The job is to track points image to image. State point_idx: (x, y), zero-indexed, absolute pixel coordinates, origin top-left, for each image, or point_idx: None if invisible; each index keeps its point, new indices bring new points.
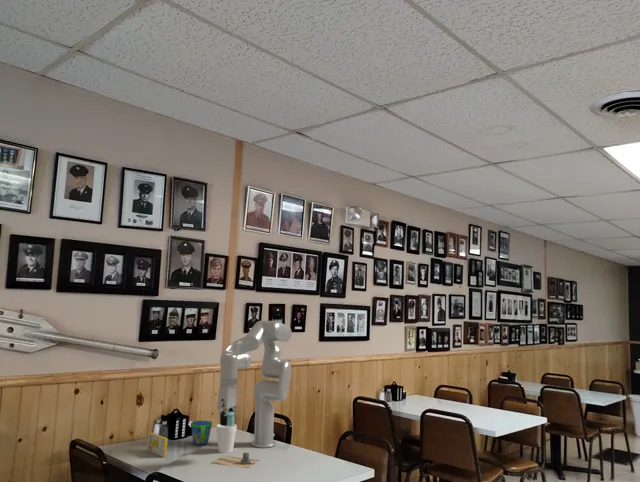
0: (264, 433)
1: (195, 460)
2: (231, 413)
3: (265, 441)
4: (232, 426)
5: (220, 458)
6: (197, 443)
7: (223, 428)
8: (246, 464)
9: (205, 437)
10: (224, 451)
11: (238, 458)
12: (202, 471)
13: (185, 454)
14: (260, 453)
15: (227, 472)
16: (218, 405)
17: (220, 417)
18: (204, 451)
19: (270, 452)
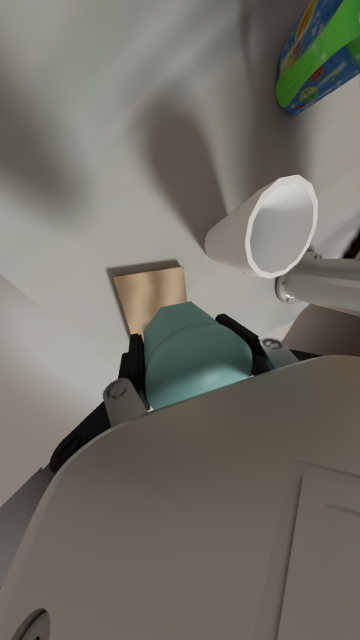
0: (309, 296)
1: (134, 194)
2: None
3: (292, 294)
4: (296, 243)
5: (162, 274)
6: (280, 71)
7: (243, 246)
8: None
9: (288, 103)
10: (209, 251)
11: None
12: (71, 282)
13: (168, 100)
14: (244, 308)
15: (110, 332)
16: (15, 581)
17: (128, 363)
18: (221, 162)
19: (253, 318)
